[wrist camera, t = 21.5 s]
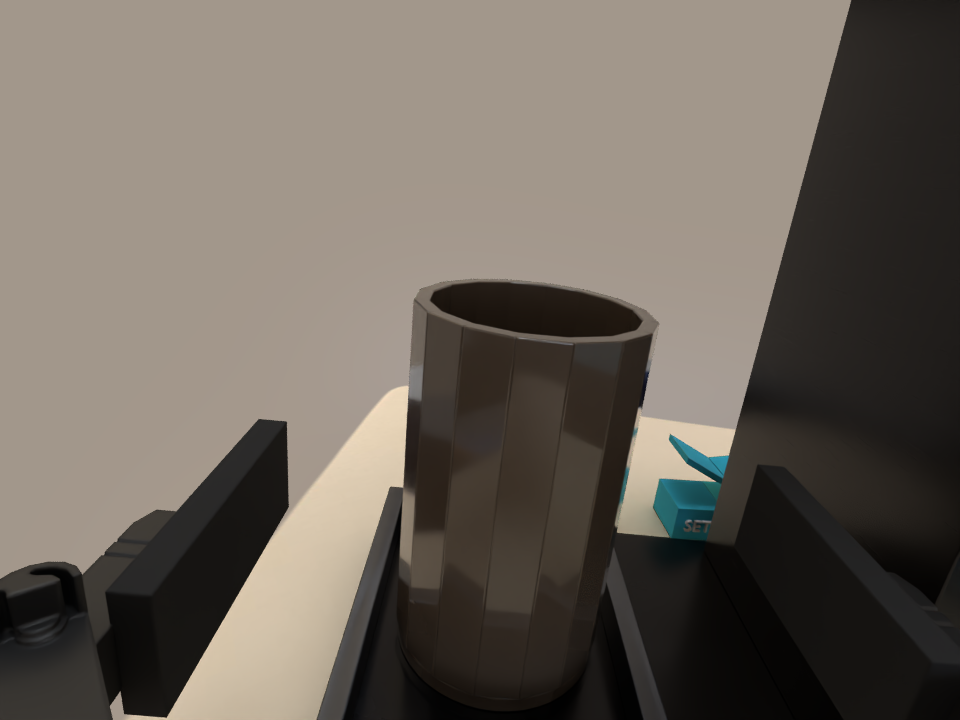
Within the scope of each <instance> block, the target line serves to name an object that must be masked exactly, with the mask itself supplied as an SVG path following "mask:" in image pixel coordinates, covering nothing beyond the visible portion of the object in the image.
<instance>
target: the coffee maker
mask: <svg viewBox="0 0 960 720" xmlns="http://www.w3.org/2000/svg"><path fill="white" fill-rule="evenodd" d="M758 464H761V465H772V466H783V467H786V468H787V470H788V471H789V472H790V473H791V474H792V475H793V476H794V477H795V478H796V479H797V480H798V481H799V482H800V483H801V484H802V485H803V486H804V487H805V488H806V489H807V490H808V491H809V492H810V493H811V494H812V495H813V496H814V498H815V499H816V500H817V501H818V502H819V503H820V504H821V505H822V506H823V507H824V508H825V509H826V510H827V511H828V512H829V513H830V514H831V515H832V516H833V517H834V518H835V519H836V520H837V521H838V522H839V523H840V525H841V526H842V527H843V528H844V529H845V530H846V531H847V532H848V533H849V534H850V535H851V536H852V537H853V538H854V539H855V540H856V541H857V542H858V543H859V544H860V545H861V546H862V547H863V548H864V549H865V550H866V551H867V553H868V554H869V555H870V556H871V557H872V558H873V559H874V560H875V561H876V562H877V563H878V564H879V565H880V566H881V567H882V568H883V569H884V570H885V571H886V572H890V573H895V574H897V575H898V576H900V577H901V578H903V579H904V580H906V581H907V582H909V583H910V584H912V585H913V586H915V587H916V588H918V589H919V590H920V591H921V592H922V593H923V594H924V595H925V596H926V597H927V598H928V599H929V600H930V601H931V602H932V603H933V604H934V605H935V606H936V607H937V608H938V612H942V613H943V614H944V615H945V616H946V617H947V618H948V619H949V620H950V621H951V622H952V623H953V626H954V627H957V628H958V629H959V630H960V0H851V4H850V8H849V11H848V15H847V19H846V22H845V26H844V30H843V33H842V37H841V41H840V45H839V48H838V52H837V56H836V60H835V63H834V67H833V71H832V74H831V78H830V82H829V86H828V89H827V93H826V97H825V100H824V104H823V108H822V111H821V115H820V119H819V123H818V127H817V130H816V134H815V138H814V141H813V145H812V149H811V153H810V156H809V160H808V164H807V167H806V171H805V175H804V179H803V182H802V186H801V190H800V194H799V197H798V201H797V205H796V209H795V212H794V216H793V219H792V223H791V227H790V231H789V235H788V238H787V242H786V245H785V249H784V253H783V257H782V261H781V265H780V268H779V271H778V275H777V279H776V283H775V287H774V290H773V294H772V298H771V301H770V305H769V309H768V312H767V316H766V320H765V324H764V328H763V331H762V335H761V339H760V342H759V346H758V350H757V353H756V357H755V361H754V365H753V368H752V372H751V376H750V379H749V383H748V387H747V391H746V394H745V398H744V402H743V406H742V409H741V413H740V417H739V420H738V424H737V428H736V432H735V435H734V439H733V443H732V446H731V450H730V454H729V458H728V461H727V465H726V469H725V472H724V476H723V480H722V484H721V487H720V491H719V495H718V499H717V502H716V506H715V510H714V513H713V517H712V521H711V525H710V528H709V532H708V536H707V539H706V541H699V540H688V539H677V538H666V537H655V536H644V535H634V534H623V533H616V538H615V543H614V547H613V552H612V557H611V562H610V567H609V572H608V577H607V582H606V586H605V591H604V596H603V601H602V606H601V611H600V616H599V621H598V626H597V630H596V635H595V639H594V642H593V645H592V648H591V653H590V657H589V662H588V664H587V666H586V669H585V671H584V673H583V674H582V676H581V677H580V679H579V680H578V681H577V682H576V684H575V685H574V686H573V687H572V688H571V689H570V690H568V691H567V692H566V693H565V694H563V695H562V696H561V697H559V698H557V699H555V700H553V701H552V702H550V703H547V704H544V705H542V706H539V707H536V708H532V709H527V710H522V711H511V712H504V711H490V710H483V709H478V708H474V707H470V706H467V705H464V704H461V703H459V702H456V701H454V700H451V699H450V698H448V697H446V696H444V695H442V694H441V693H439V692H437V691H436V690H435V689H433V688H432V687H431V686H429V685H428V684H427V683H426V682H425V681H424V680H423V679H422V678H420V677H419V676H418V674H417V673H416V672H415V671H414V669H413V668H412V667H411V666H410V664H409V662H408V661H407V659H406V657H405V655H404V653H403V651H402V648H401V646H400V642H399V637H398V628H397V618H396V612H397V594H398V576H399V557H400V539H401V521H402V503H403V488H400V487H390V489H389V492H388V495H387V498H386V502H385V505H384V508H383V511H382V514H381V517H380V520H379V524H378V527H377V530H376V533H375V536H374V539H373V543H372V546H371V549H370V552H369V555H368V558H367V562H366V565H365V568H364V571H363V574H362V577H361V581H360V584H359V587H358V590H357V593H356V596H355V600H354V603H353V606H352V609H351V612H350V615H349V619H348V622H347V625H346V628H345V631H344V634H343V638H342V641H341V644H340V647H339V650H338V653H337V657H336V660H335V663H334V666H333V669H332V672H331V675H330V679H329V682H328V685H327V688H326V691H325V694H324V698H323V701H322V704H321V707H320V710H319V713H318V717H317V720H844V719H843V718H842V716H841V715H840V713H839V711H838V710H837V708H836V707H835V705H834V704H833V702H832V700H831V699H830V697H829V696H828V694H827V692H826V691H825V689H824V688H823V686H822V685H821V683H820V681H819V680H818V678H817V677H816V675H815V674H814V672H813V670H812V669H811V667H810V666H809V664H808V662H807V661H806V659H805V658H804V656H803V655H802V653H801V651H800V650H799V648H798V647H797V645H796V644H795V642H794V640H793V639H792V637H791V636H790V634H789V632H788V631H787V629H786V628H785V626H784V625H783V623H782V621H781V620H780V618H779V617H778V615H777V614H776V612H775V610H774V609H773V607H772V606H771V604H770V602H769V601H768V599H767V598H766V596H765V595H764V593H763V591H762V590H761V588H760V587H759V585H758V584H757V582H756V580H755V579H754V577H753V576H752V574H751V572H750V571H749V569H748V568H747V566H746V565H745V563H744V561H743V560H742V558H741V557H740V555H739V554H738V552H737V550H736V549H735V547H734V544H735V541H736V537H737V534H738V530H739V527H740V523H741V520H742V517H743V513H744V510H745V506H746V503H747V499H748V496H749V492H750V489H751V485H752V482H753V478H754V475H755V472H756V468H757V465H758Z"/></svg>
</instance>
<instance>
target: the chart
mask: <svg viewBox="0 0 960 720" xmlns="http://www.w3.org/2000/svg"><path fill="white" fill-rule="evenodd" d="M669 441H670V442H671V443H672V445H673V446H674V447H675V449H676V450H677V451H678V453H679V454H680V455H681V457H682V458H683V459H684V461H685V462H686V463H687V464H688V465H690V466H692V467H693V468H695V469H696V470H698V471H700V472H701V473H703V474H705V475H706V476H708V477H710V478H711V479H713V480H715V481H716V482H707V481H690V480H673V479H659V483H658V488H657V492H656V497H655V501H654V505H653V507H654V509H655V511H656V513H657V514H658V516H659V518H660V520H661V522H662V523H663V525H664V527H665V529H666V530H667V532H668V534H669V536H670V537H671V538H677V539H689V540H706V539H707V536H708V532H709V528H710V525H711V521H712V517H713V513H714V510H715V506H716V502H717V499H718V495H719V491H720V487H721V484H722V480H723V476H724V472H725V469H726V465H727V461H728V458H729V456H719V457H709V458H708V457H706V456H705V455H703V454H702V453H700V452H698V451H697V450H695V449H693V448H692V447H690V446H689V445H687V444H685V443H684V442H682V441H681V440H679V439H677V438H676V437H674V436H672V435H671V434H670V437H669Z"/></svg>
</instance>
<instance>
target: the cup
mask: <svg viewBox="0 0 960 720" xmlns="http://www.w3.org/2000/svg"><path fill="white" fill-rule="evenodd" d="M413 304H414V305H413V321H412V339H411V358H410V376H409V394H408V412H407V430H406V448H405V467H404V485H403V503H402V521H401V539H400V557H399V576H398V594H397V612H396V618H397V628H398V637H399V642H400V646H401V648H402V651H403V653H404V655H405V657H406V659H407V661H408V662H409V664H410V666H411V667H412V668H413V669H414V671H415V672H416V673H417V674H418V676H419V677H420V678H422V679H423V680H424V681H425V682H426V683H427V684H428V685H429V686H431V687H432V688H433V689H435V690H436V691H437V692H439V693H441V694H442V695H444V696H446V697H448V698H450V699H451V700H454V701H456V702H459V703H461V704H464V705H467V706H470V707H474V708H478V709H483V710H490V711H504V712H511V711H522V710H527V709H532V708H536V707H539V706H542V705H544V704H547V703H550V702H552V701H553V700H555V699H557V698H559V697H561V696H562V695H563V694H565V693H566V692H567V691H568V690H570V689H571V688H572V687H573V686H574V685H575V684H576V682H577V681H578V680H579V679H580V677H581V676H582V674H583V673H584V671H585V669H586V666H587V664H588V662H589V657H590V653H591V648H592V645H593V642H594V639H595V635H596V630H597V626H598V621H599V616H600V611H601V606H602V601H603V596H604V591H605V586H606V582H607V577H608V572H609V567H610V562H611V557H612V552H613V547H614V543H615V538H616V533H617V528H618V523H619V518H620V513H621V508H622V504H623V499H624V494H625V489H626V484H627V479H628V474H629V469H630V464H631V460H632V455H633V450H634V445H635V440H636V435H637V430H638V425H639V421H640V416H641V410H642V406H643V401H644V396H645V391H646V386H647V381H648V377H649V372H650V366H651V362H652V357H653V352H654V347H655V342H656V337H657V333H658V327H659V323H658V321H656V319H654V318H653V317H652V316H651V315H650V314H649V313H648V312H647V311H646V310H644V309H642V308H639V307H637V306H635V305H632V304H630V303H628V302H626V301H623V300H621V299H618V298H614V297H610V296H607V295H603V294H599V293H596V292H592V291H588V290H584V289H578V288H572V287H567V286H561V285H554V284H547V283H539V282H530V281H519V280H508V279H468V280H457V281H447V282H440V283H437V284H434V285H431V286H428V287H425V288H422V289H420V290H419V292H418V293H417V295H416V297H415V299H414V303H413Z"/></svg>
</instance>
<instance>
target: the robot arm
mask: <svg viewBox="0 0 960 720" xmlns="http://www.w3.org/2000/svg"><path fill="white" fill-rule="evenodd" d="M287 459H288V457H287V422H285V421H274V420H262V419H259V420H258V421H257V422H256V423H255V424H254V425H253V426H252V427H251V429H250V430H249V431H248V432H247V433H246V434H245V435H244V436H243V437H242V439H241V440H240V441H239V442H238V443H237V444H236V445H235V447H234V448H233V449H232V450H231V451H230V452H229V453H228V454H227V455H226V457H225V458H224V459H223V460H222V461H221V462H220V463H219V464H218V466H217V467H216V468H215V469H214V470H213V471H212V472H211V473H210V474H209V476H208V477H207V478H206V479H205V480H204V481H203V482H202V483H201V485H200V486H199V487H198V488H197V489H196V490H195V491H194V492H193V494H192V495H191V496H190V497H189V498H188V499H187V500H186V502H185V503H184V504H183V505H182V506H181V507H180V508H179V509H178V510H177V512H175V511H165V510H155V511H153V512H152V513H150V514H148V515H146V516H145V517H143V518H141V519H139V520H138V521H136V522H134V523H133V524H132V525H131V526H130V527H129V528H128V529H127V530H126V531H125V532H124V533H123V534H122V535H121V536H120V537H119V538H118V541H117V542H114V543H113V544H112V545H111V546H110V547H109V548H108V549H107V550H106V551H105V554H104V556H101V557H99V558H98V560H96V561H95V563H94V564H93V565H92V566H91V567H90V568H89V569H88V570H87V571H86V572H85V573H84V574H83V575H82V574H81V572H80V571H79V569H78V568H77V566H75V565H72V564H69V563H66V562H45V563H40V564H35V565H30V566H27V567H24V568H22V569H19V570H17V571H14V572H11V573H10V574H8V575H6V576H5V577H3V578H1V579H0V720H113V718H112V714H111V710H110V705H111V704H112V702H113V701H114V699H115V698H116V696H117V695H118V694H119V692H120V691H121V697H122V703H123V710H124V714H128V715H141V716H153V717H165V718H167V716H168V714H169V713H170V711H171V709H172V708H173V706H174V704H175V702H176V701H177V699H178V697H179V695H180V694H181V692H182V690H183V689H184V687H185V685H186V683H187V682H188V680H189V678H190V676H191V675H192V673H193V671H194V670H195V668H196V666H197V664H198V663H199V661H200V659H201V658H202V656H203V654H204V652H205V651H206V649H207V647H208V645H209V644H210V642H211V640H212V639H213V637H214V635H215V633H216V632H217V630H218V628H219V626H220V625H221V623H222V621H223V620H224V618H225V616H226V614H227V613H228V611H229V609H230V607H231V606H232V604H233V602H234V601H235V599H236V597H237V595H238V594H239V592H240V590H241V588H242V587H243V585H244V583H245V582H246V580H247V578H248V576H249V575H250V573H251V571H252V569H253V568H254V566H255V564H256V563H257V561H258V559H259V557H260V556H261V554H262V552H263V550H264V549H265V547H266V545H267V544H268V542H269V540H270V538H271V537H272V535H273V533H274V532H275V530H276V528H277V526H278V525H279V523H280V521H281V519H282V518H283V516H284V514H285V513H286V511H287V509H288V507H289V504H288V503H289V502H288V460H287ZM734 547H735V549H736V550H737V552H738V554H739V555H740V557H741V558H742V560H743V561H744V563H745V565H746V566H747V568H748V569H749V571H750V572H751V574H752V576H753V577H754V579H755V580H756V582H757V584H758V585H759V587H760V588H761V590H762V591H763V593H764V595H765V596H766V598H767V599H768V601H769V602H770V604H771V606H772V607H773V609H774V610H775V612H776V614H777V615H778V617H779V618H780V620H781V621H782V623H783V625H784V626H785V628H786V629H787V631H788V632H789V634H790V636H791V637H792V639H793V640H794V642H795V644H796V645H797V647H798V648H799V650H800V651H801V653H802V655H803V656H804V658H805V659H806V661H807V662H808V664H809V666H810V667H811V669H812V670H813V672H814V674H815V675H816V677H817V678H818V680H819V681H820V683H821V685H822V686H823V688H824V689H825V691H826V692H827V694H828V696H829V697H830V699H831V700H832V702H833V704H834V705H835V707H836V708H837V710H838V711H839V713H840V715H841V716H842V718H843V719H844V720H960V630H959V629H958V628H957V627H954V626H953V623H952V622H951V621H950V620H949V619H948V618H947V617H946V616H945V615H944V614H943V613H942V612H938V608H937V607H936V606H935V605H934V604H933V603H932V602H931V601H930V600H929V599H928V598H927V597H926V596H925V595H924V594H923V593H922V592H921V591H920V590H919V589H918V588H916V587H915V586H913V585H912V584H910V583H909V582H907V581H906V580H904V579H903V578H901V577H900V576H898V575H897V574H895V573H890V572H886V571H885V570H884V569H883V568H882V567H881V566H880V565H879V564H878V563H877V562H876V561H875V560H874V559H873V558H872V557H871V556H870V555H869V554H868V553H867V551H866V550H865V549H864V548H863V547H862V546H861V545H860V544H859V543H858V542H857V541H856V540H855V539H854V538H853V537H852V536H851V535H850V534H849V533H848V532H847V531H846V530H845V529H844V528H843V527H842V526H841V525H840V523H839V522H838V521H837V520H836V519H835V518H834V517H833V516H832V515H831V514H830V513H829V512H828V511H827V510H826V509H825V508H824V507H823V506H822V505H821V504H820V503H819V502H818V501H817V500H816V499H815V498H814V496H813V495H812V494H811V493H810V492H809V491H808V490H807V489H806V488H805V487H804V486H803V485H802V484H801V483H800V482H799V481H798V480H797V479H796V478H795V477H794V476H793V475H792V474H791V473H790V472H789V471H788V470H787V468H786V467H783V466H772V465H761V464H758V465H757V468H756V472H755V475H754V478H753V482H752V485H751V489H750V492H749V496H748V499H747V503H746V506H745V510H744V513H743V517H742V520H741V523H740V527H739V530H738V534H737V537H736V541H735V544H734Z"/></svg>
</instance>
